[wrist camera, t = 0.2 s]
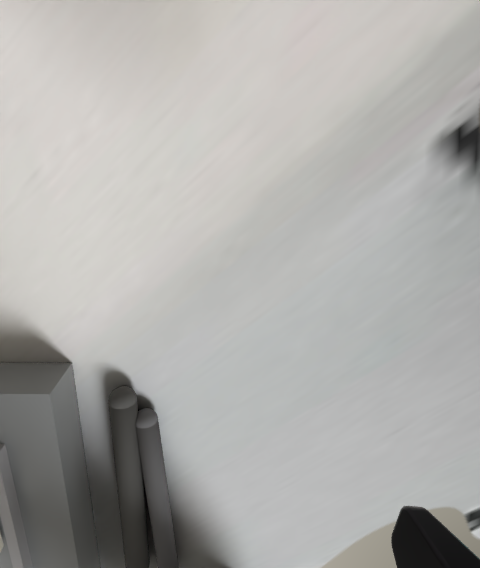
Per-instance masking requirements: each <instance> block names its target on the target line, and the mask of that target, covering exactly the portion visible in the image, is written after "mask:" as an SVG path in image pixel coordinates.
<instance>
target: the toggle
mask: <svg viewBox="0 0 480 568" xmlns="http://www.w3.org/2000/svg"><path fill="white" fill-rule="evenodd" d="M3 546H4V544H3V541H2V537H1V533H0V552H1V550H2V548H3Z"/></svg>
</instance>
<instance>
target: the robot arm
mask: <svg viewBox="0 0 480 568" xmlns="http://www.w3.org/2000/svg"><path fill="white" fill-rule="evenodd" d="M392 548H393V553H394V557H395V561H396V565H397V568H480V559H479V558H478V557H477V556H476V555H475V554H474V553H473V552H472V551H470V550H469V549H468V548H467V547H466V546H465V545H464V544H463V543H462V542H461V541H460V540H459V539H458V538H457V537H456V536H454V535H453V534H452V533H451V532H450V531H449V530H448V529H447V528H446V527H445V526H444V525H443V524H442V523H441V522H439V521H438V520H437V519H436V518H435V517H434V516H433V515H432V514H431V513H430V512H429V511H428V510H426V509H425V508H422V507H415V506H404V507H403V508H402V509H401V511H400V513H399V516H398V519H397V522H396V525H395V527H394V530H393V533H392Z"/></svg>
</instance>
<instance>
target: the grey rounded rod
mask: <svg viewBox="0 0 480 568" xmlns="http://www.w3.org/2000/svg"><path fill="white" fill-rule="evenodd" d="M109 412H110V421H111V431H112V440H113V450H114V459H115V468H116V478H117V487H118V497H119V506H120V516H121V525H122V535H123V544H124V554H125V563H126V568H149V552H148V538H147V525H146V512H145V498H144V485H143V473H142V467H141V461H140V455H139V448H138V440H137V433H136V419H137V415H138V405H137V396H136V393H135V391H134V390H133V389H131V388H130V387H127V386H121V387H118V388H116V389H115V390H113V392H112V393H111V394H110V396H109Z"/></svg>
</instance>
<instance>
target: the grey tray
mask: <svg viewBox="0 0 480 568" xmlns="http://www.w3.org/2000/svg"><path fill="white" fill-rule="evenodd" d="M0 533H1V537H2V541H3V544H4V546H3V548H2V550H1V552H0V568H100V561H99V554H98V547H97V539H96V532H95V525H94V518H93V511H92V503H91V496H90V489H89V482H88V475H87V467H86V460H85V453H84V446H83V439H82V431H81V424H80V417H79V410H78V402H77V395H76V388H75V381H74V374H73V366H72V363H14V362H0Z"/></svg>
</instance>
